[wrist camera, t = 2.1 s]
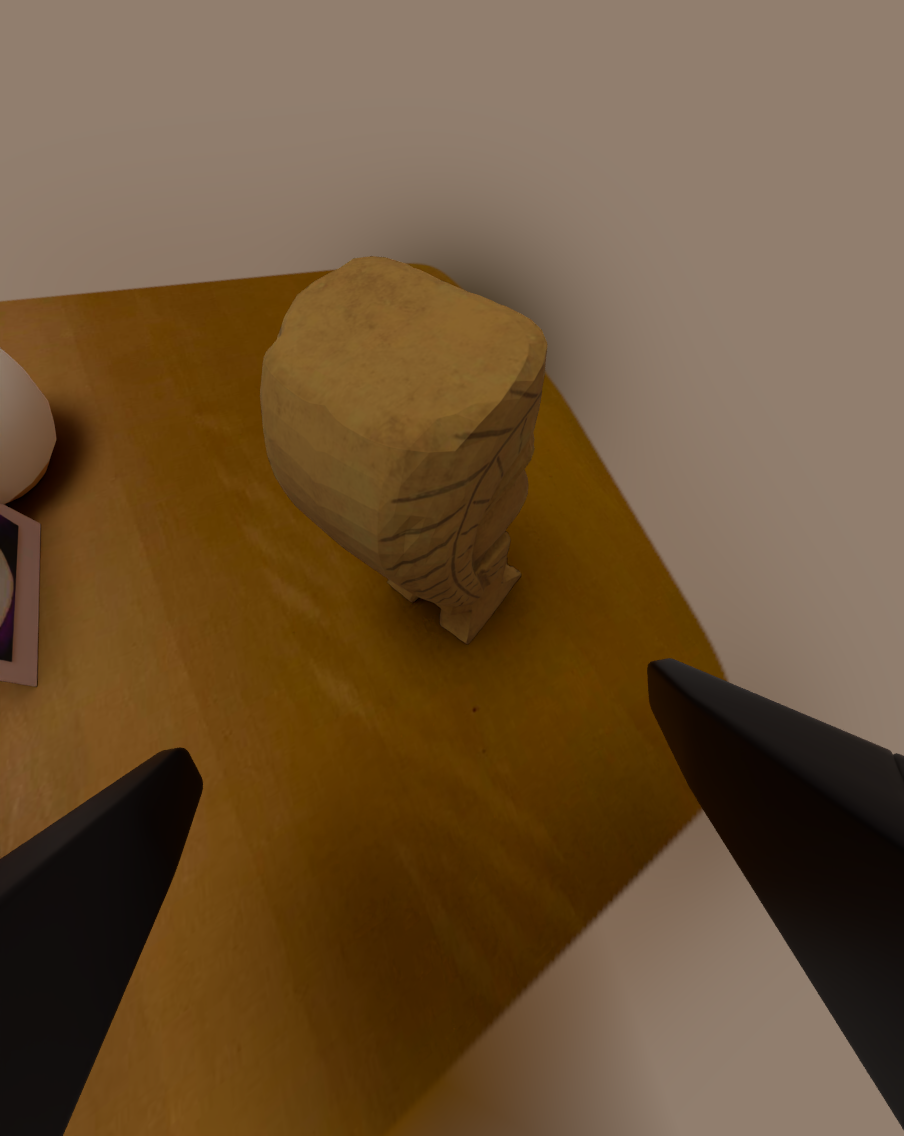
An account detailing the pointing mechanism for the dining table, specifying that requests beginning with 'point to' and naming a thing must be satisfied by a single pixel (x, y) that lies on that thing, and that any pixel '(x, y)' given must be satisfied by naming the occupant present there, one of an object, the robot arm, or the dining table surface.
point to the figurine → (408, 428)
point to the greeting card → (19, 596)
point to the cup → (22, 431)
